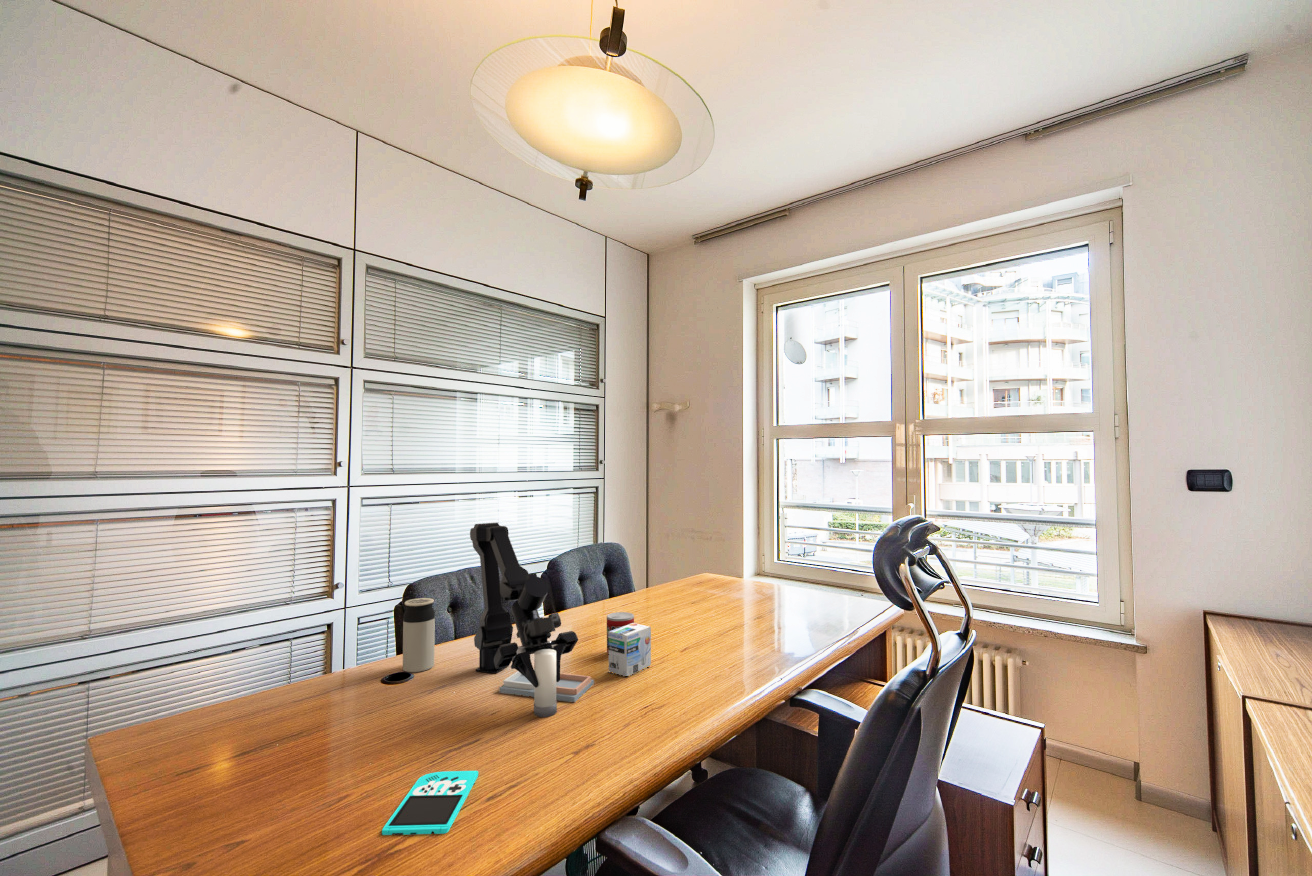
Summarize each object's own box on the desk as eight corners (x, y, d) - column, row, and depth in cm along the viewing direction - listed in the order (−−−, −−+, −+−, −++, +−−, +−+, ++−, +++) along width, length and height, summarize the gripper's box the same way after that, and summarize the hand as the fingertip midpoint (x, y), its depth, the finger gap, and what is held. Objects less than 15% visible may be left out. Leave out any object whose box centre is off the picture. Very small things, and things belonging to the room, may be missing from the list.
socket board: (499, 692, 134) (499, 682, 135) (523, 676, 145) (523, 666, 145) (574, 702, 128) (574, 691, 128) (594, 684, 139) (594, 674, 139)
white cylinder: (529, 715, 122) (529, 655, 122) (540, 706, 127) (540, 648, 127) (550, 718, 120) (550, 657, 121) (560, 708, 125) (560, 650, 126)
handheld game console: (480, 777, 99) (480, 769, 99) (448, 837, 83) (448, 827, 83) (423, 778, 98) (423, 770, 98) (380, 838, 82) (380, 829, 82)
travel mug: (426, 673, 148) (427, 604, 149) (397, 673, 148) (398, 604, 149) (439, 662, 156) (439, 597, 157) (410, 662, 156) (411, 597, 157)
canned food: (603, 651, 164) (603, 613, 164) (628, 647, 167) (628, 610, 168) (612, 659, 157) (612, 620, 157) (638, 655, 160) (638, 616, 161)
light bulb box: (626, 678, 143) (626, 635, 144) (607, 672, 147) (607, 631, 148) (652, 666, 151) (651, 626, 152) (633, 661, 156) (632, 622, 156)
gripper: (498, 608, 122) (517, 674, 113) (574, 596, 133) (597, 655, 124) (486, 636, 128) (503, 701, 119) (559, 622, 139) (580, 681, 130)
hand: (548, 683), depth 123 cm, fingers closed on white cylinder, 5 cm apart
